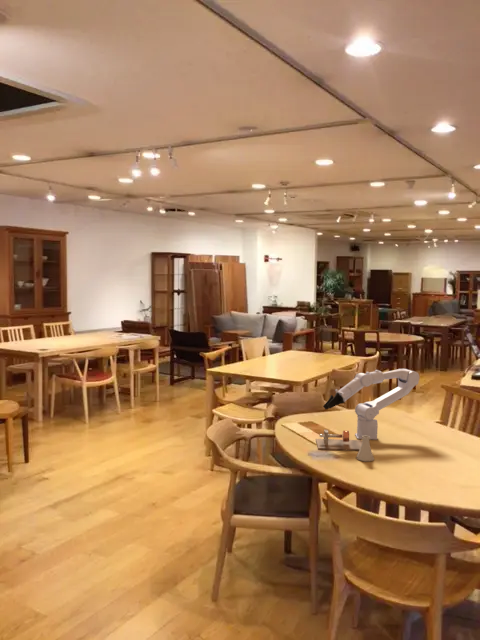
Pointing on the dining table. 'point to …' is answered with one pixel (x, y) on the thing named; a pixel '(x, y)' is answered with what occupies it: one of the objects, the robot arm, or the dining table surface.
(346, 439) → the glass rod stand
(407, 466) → the dining table surface
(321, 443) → the board
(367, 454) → the flask
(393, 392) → the robot arm
